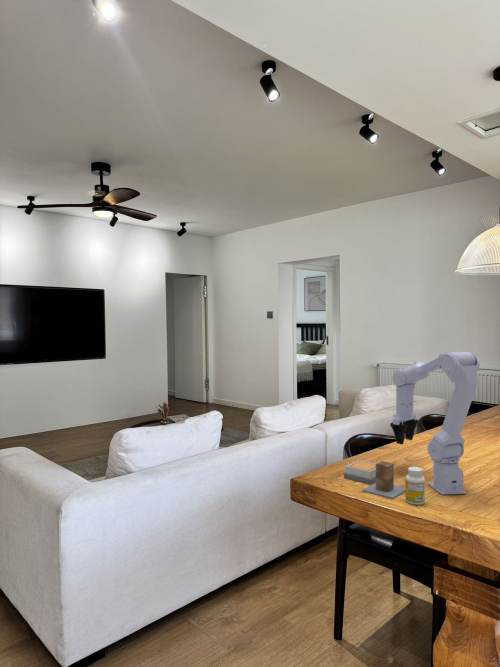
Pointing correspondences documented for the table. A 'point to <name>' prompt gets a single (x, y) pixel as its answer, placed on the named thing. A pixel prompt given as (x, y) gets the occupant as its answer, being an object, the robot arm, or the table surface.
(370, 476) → the switch panel
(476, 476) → the table surface
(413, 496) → the supplement bottle
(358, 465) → the button
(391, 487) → the brown wooden beam
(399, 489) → the rubber mat
